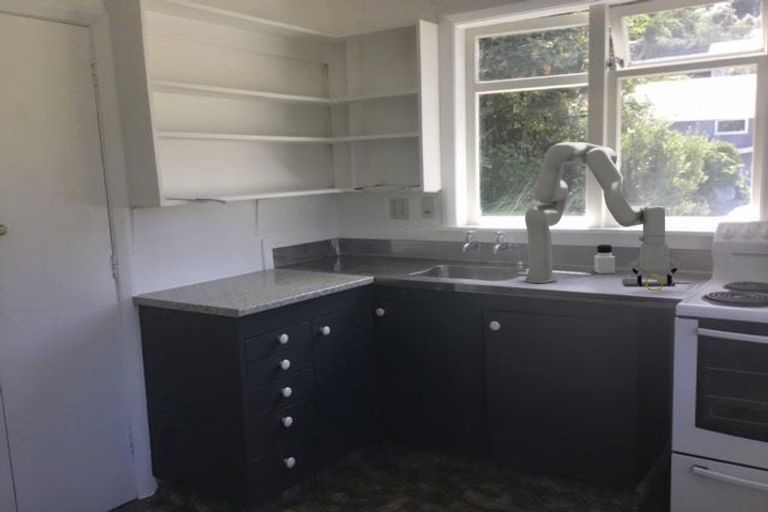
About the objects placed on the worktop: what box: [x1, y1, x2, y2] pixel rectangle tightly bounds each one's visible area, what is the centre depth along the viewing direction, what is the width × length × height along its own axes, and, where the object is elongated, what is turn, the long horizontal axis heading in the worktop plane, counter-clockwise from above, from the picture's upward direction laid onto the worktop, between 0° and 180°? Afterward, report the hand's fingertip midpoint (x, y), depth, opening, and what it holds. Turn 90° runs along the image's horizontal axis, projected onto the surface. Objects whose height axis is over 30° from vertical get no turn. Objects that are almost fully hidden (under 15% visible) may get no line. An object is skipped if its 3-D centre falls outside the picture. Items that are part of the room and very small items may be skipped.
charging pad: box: [622, 277, 692, 287], centre depth 264 cm, size 24×12×1 cm, turn 74°
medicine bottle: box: [593, 244, 616, 275], centre depth 297 cm, size 7×7×12 cm
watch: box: [645, 273, 664, 291], centre depth 251 cm, size 6×3×6 cm, turn 60°
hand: (654, 285), depth 251 cm, fingers open, 9 cm apart
